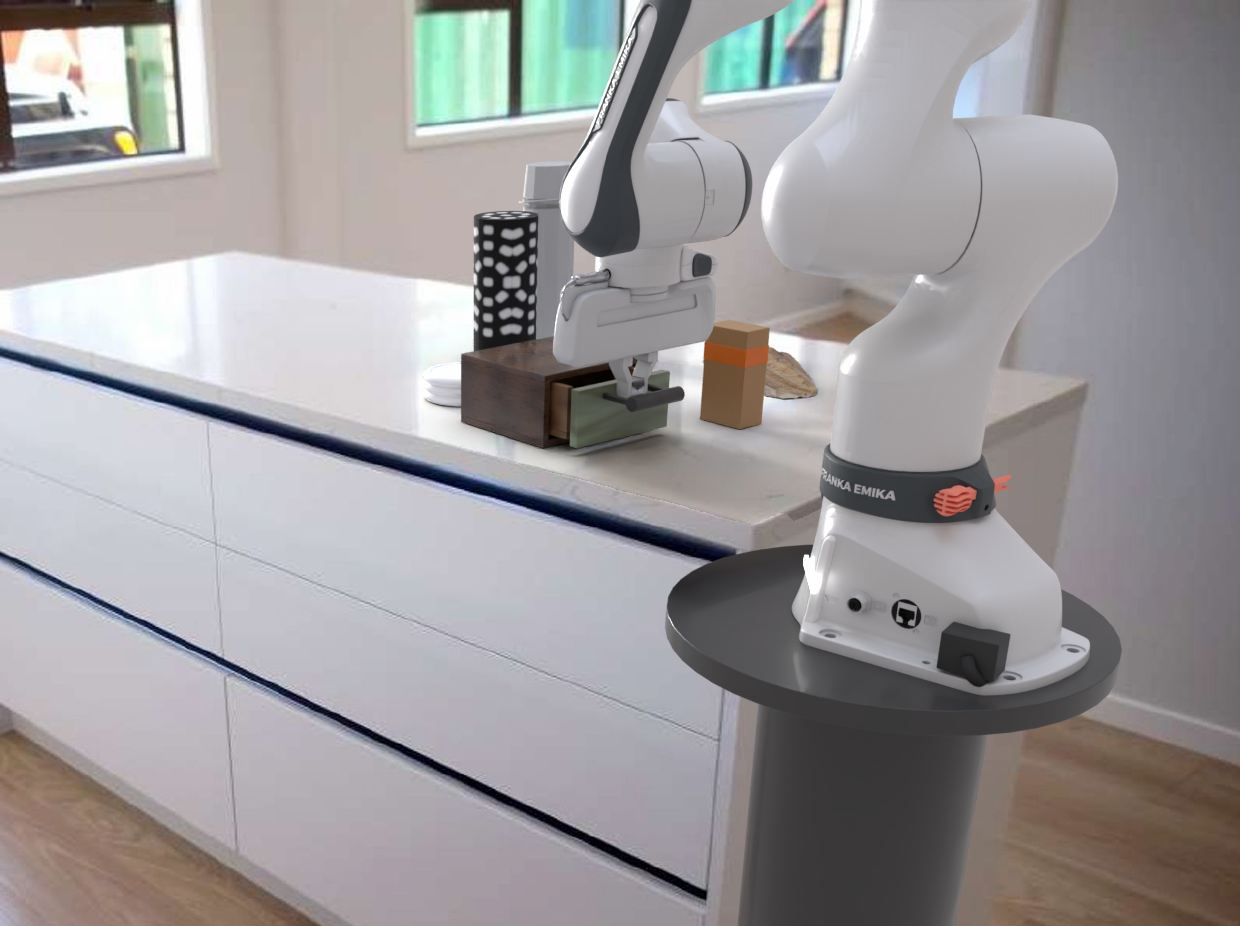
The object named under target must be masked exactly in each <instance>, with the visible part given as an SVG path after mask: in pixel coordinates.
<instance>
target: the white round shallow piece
mask: <svg viewBox="0 0 1240 926" xmlns="http://www.w3.org/2000/svg"><path fill="white" fill-rule="evenodd" d="M423 379H424V382H423V388H424V391H423V395H424V397H425V399H426V400H427V401H428V402H430V403H433V404H436V405H440V406H447V407H461V361H452V362H445V363H439V364H435V365H432V366H430V367H428V368H427V369H426V370H425V371H424V373H423Z"/></svg>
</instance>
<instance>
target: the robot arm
mask: <svg viewBox="0 0 1240 926" xmlns="http://www.w3.org/2000/svg"><path fill="white" fill-rule="evenodd" d="M795 1H796V0H639V2H638V4H637V7H636V9H635V11H634V13H633V16H632V19H631V21H630V24H629V26H628V29H627V31H626V34H625V36H624V39H623V41H622V44H621V47H620V50H619V52H618V54H617V57H616V59H615V63H614V65H613V67H612V70H611V72H610V75H609V78H608V80H607V83H606V86H605V88H604V90H603V93H602V96H601V98H600V101H599V104H598V106H597V109H596V111H595V114H594V116H593V119H592V122H591V124H590V127H589V129H588V131H587V134H586V136H585V138H584V140H583V142H582V144H581V146H580V147H579V149H578V151H577V152H576V154H575V156H574V158H573V159H572V161H571V162H572V163H571V164H570V166H569V168H568V170H567V172H566V175H565V177H564V180H563V182H562V186H561V190H560V198H559V210H560V217H561V220H562V223H563V226H564V228H565V229H566V231H567V232H568V234H569V235H570V236H571V237H572V238H573V239H574V243H576V244H577V245H578V246H579V247H581V248H582V249H583V250H584V251H586V252H588V253H589V254H590V255H592V256H594V257H595V258H594V259H595V261H594V262H595V263H594V271H592V272H589V273H578V274H575V275H573V277H572V278H571V280H570V281H569V282H568V283H567V284H566V285H565V287H564V288H562V290H561V294H560V304H559V308H558V313H557V318H556V325H555V332H554V342H553V355H554V356H555V358H556V360H557V361H558V362H559V363H561V364H564V365H567V366H572V367H577V368H579V367H584V366H589V365H594V364H599V363H603V362H608V361H609V366H610V368H611V370H612V372H613V374H614V376H615V378H616V379H617V387H616V393H617V395H618V396H621V397H625V398H627V397H631V396H636V395H640V394H645V393H647V388H648V378H649V377H650V375H651V373H652V372H654V369H655V367H656V365H657V363H658V358H659V352H662V351H664V350H670V349H675V348H681V347H685V346H689V345H694V344H699V343H705V341H706V340H707V339H708V338H709V336H710V334H711V332H712V331H713V327H714V323H715V320H716V307H717V306H716V305H717V304H716V303H717V289H716V284H715V281H714V279H713V278H712V276H715V274H717V270H718V264H719V259H718V256H717V255H715V254H713V253H710V252H706V251H702V250H699V249H696V248H693V247H689V246H686V245H687V244H697V243H703V242H704V243H705V242H710V241H711V242H712V241H716V240H719V239H722V238H727V237H729V236H730V235H732V234H733V233H734V232H735V231H736V230H737V229H738V228H739V226H740V225H741V224H742V222H743V221H744V219H745V218H746V216H747V213H748V210H749V208H750V206H751V205H750V204H751V201H752V194H753V174H752V169H751V167H750V164H749V162H748V159H747V157H746V156H745V154H744V153H743V151H742V150H741V149H740V148H739V147H738V146H737V145H735V144H734V142H732V141H729V140H722V139H721V138H718V137H716V136H714V135H712V134H711V133H710V132H707V131H706V130H705V129H703V128H702V127H701V126H699V125H698V124H697V123H696V122H695V121H694V120H693V119H692V116H691V114H690V110H689V108H688V106H687V104H686V103H685V102H684V101H682V100H680V99H676V98H674V97H673V98H672V97H668V96H669V94H670V92H671V89H672V86H673V84H674V82H675V80H676V79H677V76H678V75H679V73H680V72H681V70H682V69H683V68H684V67H685V66H686V64H687V63H689V62H690V60H691V59H692V58H693V57H694V56H696V55H697V54H698V53H699V52H702V50H704V49H705V48H707V47H708V46H710V45H712V44H713V43H715V42H717V41H718V40H720V39H722V38H724V37H726V36H728V35H729V34H730V35H731V33H734V32H736V31H738V30H740V29H742V28H744V27H747V26H749V25H751V24H754V23H757V22H759V21H762V20H765V19H767V18H769V17H771V16H773V15H775V14H776V13H779V12H780V11H782V10H784V9H785V8H787V7H789V6H790V5H791V4H792V3H793V2H795ZM859 1H860V2H859V11H858V13H859V14H858V20H857V21H858V22H857V29H856V34H855V39H854V43H853V46H852V50H851V54H850V57H849V59H848V63H847V65H846V68H845V71H844V73H843V75H842V77H841V79H840V81H839V84H838V85H837V87H836V89H835V91H834V92H833V94H832V96H831V98H830V99H829V101H828V102H827V104H826V105H825V107H824V109H823V110H822V111H821V112H820V114H819V115H818V116H817V117H816V119H815V120H814V121H813V122H812V123H811V124H810V125H809V126H808V127H807V128H806V129H805V130H804V131H803V132H802V133H801V134H799V135H798V136H797V137H796V138H795V139H794V140H793V141H791V142H790V143H789V144H788V145H787V146H786V147H785V148H784V150H782V152H781V153H780V154H779V155H778V157H777V158H776V160H775V162H774V163H773V165H772V167H771V168H770V171H769V173H768V175H767V177H766V180H765V183H764V187H763V190H762V195H761V200H760V201H761V203H760V218H761V224H762V230H763V233H764V236H765V240H766V241H767V243H768V245H769V248H770V250H771V251H772V252H773V254H774V255H775V256H776V258H777V259H778V261H780V263H781V264H782V265H783V266H785V268H787V269H788V270H789V271H793V272H796V273H801V274H802V273H803V274H808V275H812V276H813V275H814V276H820V277H826V278H827V277H828V278H834V279H835V278H836V279H843V280H851V281H852V280H853V281H854V280H868V279H881V278H883V279H884V278H895V277H897V278H899V277H910V276H913V277H912V279H911V282H910V284H909V285H908V288H907V290H906V291H905V293H904V295H903V296H902V298H901V299H900V301H899V302H898V303H897V305H895V306H894V308H893V309H892V310H891V311H890V312H889V313H888V314H887V315H885V316H884V318H882V319H881V320H879V321H878V322H876V323H874V324H873V325H871V326H869V327H868V328H866V329H865V330H863V331H862V332H860V333H859V334H857V335H856V336H855V337H854V338H853V339H852V340H851V341H850V342H849V344H848V345H847V347H846V348H845V350H844V352H843V354H842V356H841V358H840V361H839V363H838V370H837V379H836V386H835V397H834V405H833V417H832V425H831V435H830V436H831V437H830V443H829V444H827V445H826V446H825V447H824V451H823V457H822V463H821V471H820V477H819V478H820V479H819V486H818V487H819V492H820V497H821V508H820V514H819V519H818V523H817V529H816V534H815V537H814V542H813V544H814V545H813V544H812V545H813V549H812V553H811V557H810V560H809V556H808V555H804V563H803V565H804V568H805V572H806V573H805V575H804V578H803V581H802V584H801V586H800V588H799V591H798V593H797V595H796V597H795V600H794V602H793V604H792V613H793V615H794V617H795V618H796V620H797V621H798V622H799V624H800V626H801V629H800V633H799V640H800V641H801V642H802V643H803V644H805V645H808V646H811V647H815V648H818V649H821V650H825V651H828V652H832V653H835V654H839V655H842V656H845V657H849V658H852V659H856V660H859V661H863V662H866V663H869V664H873V665H876V666H880V667H883V668H886V669H890V670H893V671H897V672H900V673H904V674H907V675H910V676H914V677H917V678H921V679H924V680H927V681H931V682H934V683H938V684H941V685H945V686H948V687H951V688H955V689H958V690H962V691H965V692H969V693H973V694H977V695H983V696H991V695H1007V694H1016V693H1021V692H1026V691H1031V690H1035V689H1038V688H1041V687H1045V686H1048V685H1050V684H1053V683H1055V682H1058V681H1060V680H1062V679H1064V678H1066V677H1068V676H1070V675H1072V674H1074V673H1075V672H1077V671H1079V670H1080V669H1081V668H1082V667H1083V666H1085V664H1086V663H1087V662H1088V659H1089V656H1090V642H1089V640H1088V639H1087V638H1085V637H1083V636H1081V635H1079V634H1077V633H1074V632H1072V631H1070V630H1068V629H1065V628H1063V627H1062V594H1061V589H1062V588H1061V587H1062V586H1061V583H1060V579H1059V576H1058V575H1057V573H1056V572H1055V571H1054V569H1052V567H1050V566H1049V564H1047V563H1046V562H1045V561H1044V560H1043V558H1041V557H1040V555H1039V554H1038V553H1037V552H1036V551H1034V550H1033V548H1032V547H1031V546H1030V545H1029V544H1028V543H1027V542H1026V541H1025V540H1024V538H1022V536H1020V535H1019V533H1017V531H1016V530H1015V529H1014V528H1013V527H1012V526H1011V524H1009V522H1007V521H1006V519H1005V518H1004V517H1003V516H1002V515H1001V514H1000V513H999V511H997V509H996V507H997V500H996V496H995V494H996V493H998V492H1002V491H1005V490H1007V489H1011V485H1009V484H1006V483H1008V481H1010V480H1012V478H1013V475H1012V474H1011V473H1009V474H1008V473H1007V474H1005V475H1002V476H998V477H995V478H992V476H991V475H990V470H989V466H988V463H987V461H986V457H985V456H984V454H983V453H982V451H983V445H984V439H985V432H986V427H987V422H988V416H989V411H990V407H991V402H992V401H991V400H992V396H993V391H994V386H995V382H996V377H997V374H998V369H999V366H1000V363H1001V361H1002V357H1003V354H1004V352H1005V350H1006V347H1007V345H1008V342H1009V340H1010V338H1011V336H1012V333H1013V332H1014V330H1015V329H1016V326H1017V324H1018V323H1019V322H1020V320H1021V318H1022V316H1023V315H1024V313H1025V311H1026V310H1027V309H1028V307H1029V305H1030V304H1031V302H1032V301H1033V299H1034V298H1035V297H1036V295H1037V294H1038V293H1039V292H1040V290H1041V289H1042V288H1043V286H1045V284H1046V283H1047V282H1049V280H1050V278H1051V277H1052V276H1054V274H1056V272H1058V270H1060V269H1061V267H1063V266H1064V265H1065V264H1066V263H1068V262H1069V261H1070V260H1071V259H1073V258H1074V257H1075V256H1076V255H1077V254H1080V253H1081V252H1082V251H1084V250H1085V249H1086V248H1088V247H1089V246H1090V245H1091V244H1092V243H1093V242H1094V241H1095V240H1096V239H1097V238H1098V237H1099V235H1100V234H1101V232H1102V231H1103V229H1104V228H1105V226H1106V225H1107V223H1108V221H1109V219H1110V217H1111V214H1112V213H1113V210H1114V208H1115V204H1116V200H1117V196H1118V190H1119V174H1118V165H1117V162H1116V158H1115V155H1114V152H1113V150H1112V148H1111V146H1110V144H1109V142H1108V140H1107V139H1106V138H1105V136H1104V135H1103V133H1101V132H1100V131H1099V130H1098V129H1096V128H1095V127H1093V126H1092V125H1089V124H1087V123H1082V122H1076V121H1072V120H1068V119H1063V118H1056V117H1049V116H1044V115H1036V114H1014V115H1013V114H1011V115H994V116H971V117H954V108H955V102H956V99H957V98H956V97H957V95H958V91H959V88H960V86H961V84H962V81H963V79H964V77H965V76H966V74H967V72H968V71H969V69H970V68H971V66H972V65H973V64H975V63H977V62H979V61H980V60H981V59H984V58H985V57H987V56H988V55H990V54H992V53H993V52H995V51H996V50H997V49H999V48H1000V47H1001V46H1003V45H1004V44H1005V43H1006V42H1008V40H1010V39H1012V37H1013V36H1014V35H1015V34H1016V32H1017V31H1018V30H1019V29H1020V27H1021V26H1022V24H1023V23H1024V21H1025V19H1026V18H1027V15H1028V13H1029V11H1030V8H1031V4H1032V0H859ZM685 244H686V245H685ZM571 284H572V285H573V286H570V285H571ZM633 356H634V358H635V359H637V360H638V361H637V364H636V366H635V369H634V372H633V374H632V376H631V374H630V371H629V368H628V367H630V366H632V362H633ZM1003 484H1006V485H1003Z"/></svg>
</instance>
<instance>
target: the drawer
mask: <svg viewBox="0 0 1240 926" xmlns="http://www.w3.org/2000/svg"><path fill="white" fill-rule="evenodd" d="M628 368H629V371H630V374H631V376H632V374H633V372H634V369H635V367H633V366H630V367H628ZM670 378H671V371H670V370H666V369H659V370H653V371H652V373H651V375H650V377H649V378H648V388H647V393H645V394H640V395H636V396H631V397H627V398H625V397H621V396H618V395H617V393H616V387H617V379H616V378H615V376H614V374H613V372H612V370H611V369H607V370H603V371H598V372H593V373H588V374H584V375H579V376H574V377H569V378H565V379H560V380H555V381H550V404H549V434H550V435H553V436H556V437H559V438H563V439H566V440H567V439H570V442H569V447H571V448H575V449H580V448H585V447H588V446H592V445H598V444H601V443H606V442H609V441H614V440H617V439H621V438H625V437H630V436H635V435H639V434H641V433H646V432H650V431H654V430H658V429H663V428H666V427H667V426H668V413H669V411H668V410H669V409H668V408H669V404H674V403H677V402H678V403H679V402H681V401H683V400H684V398H685V390H684V388H683V387H682V386H679V385H677V386H672V387H670Z"/></svg>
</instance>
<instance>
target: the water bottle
mask: <svg viewBox="0 0 1240 926" xmlns="http://www.w3.org/2000/svg"><path fill="white" fill-rule="evenodd" d="M571 163H572V161H566V160H559V161H558V160H552V161H551V160H550V161H536V162H530V163H526V166H525V176H524V183H523V184H524V185H523V194H522V197H523V198H522V200H519V201H518V204H526V205H523V206H522V211H528V212H535V213H538V214H539V217H538V268H537V319H536V339H541V338H547V337H552V336H554V332H555V325H556V318H557V313H558V308H559V304H560V294H561V290H562V288H564V287H565V285H566V284H567V283H568V282H569V281H570V280H571V278H572V277H573V276H574V265H575V263H574V261H575V241H574V239H573V238H572V237H571V236H570V235H569V234H568V232H567V231H566V229H565V228H564V226H563V223H562V220H561V217H560V210H559V198H560V190H561V186H562V182H563V180H564V177H565V175H566V172H567V170H568V168H569V166H570V164H571ZM570 286H574V285H572V284H571V285H570Z"/></svg>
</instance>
